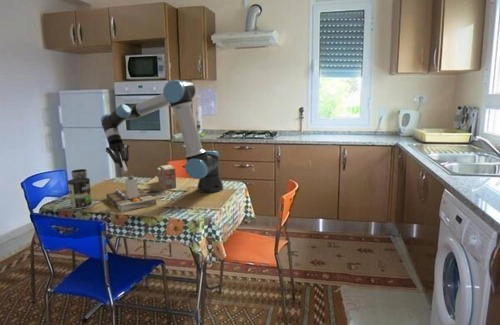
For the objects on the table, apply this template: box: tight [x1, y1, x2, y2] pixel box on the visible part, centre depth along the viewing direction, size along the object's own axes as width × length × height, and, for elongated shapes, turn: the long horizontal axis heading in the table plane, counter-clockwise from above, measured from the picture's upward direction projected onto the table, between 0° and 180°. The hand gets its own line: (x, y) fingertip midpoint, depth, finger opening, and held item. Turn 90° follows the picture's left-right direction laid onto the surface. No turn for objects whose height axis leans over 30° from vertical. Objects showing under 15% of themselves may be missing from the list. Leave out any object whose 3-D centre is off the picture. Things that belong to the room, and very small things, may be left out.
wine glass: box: [70, 168, 88, 179], centre depth 210 cm, size 8×8×15 cm
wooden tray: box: [106, 187, 157, 212], centre depth 197 cm, size 28×18×4 cm, turn 35°
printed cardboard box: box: [156, 164, 177, 190], centre depth 231 cm, size 21×6×12 cm, turn 27°
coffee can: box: [67, 177, 93, 210], centre depth 191 cm, size 10×10×14 cm
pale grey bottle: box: [125, 175, 139, 199], centre depth 193 cm, size 3×5×12 cm, turn 125°
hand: (125, 171), depth 198 cm, fingers closed
